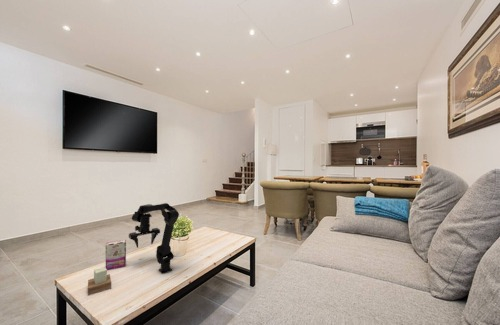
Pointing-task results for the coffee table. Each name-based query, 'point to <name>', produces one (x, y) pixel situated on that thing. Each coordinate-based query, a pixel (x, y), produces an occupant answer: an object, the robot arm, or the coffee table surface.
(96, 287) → the walnut block
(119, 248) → the candy bar box
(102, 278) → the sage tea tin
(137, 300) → the coffee table surface
